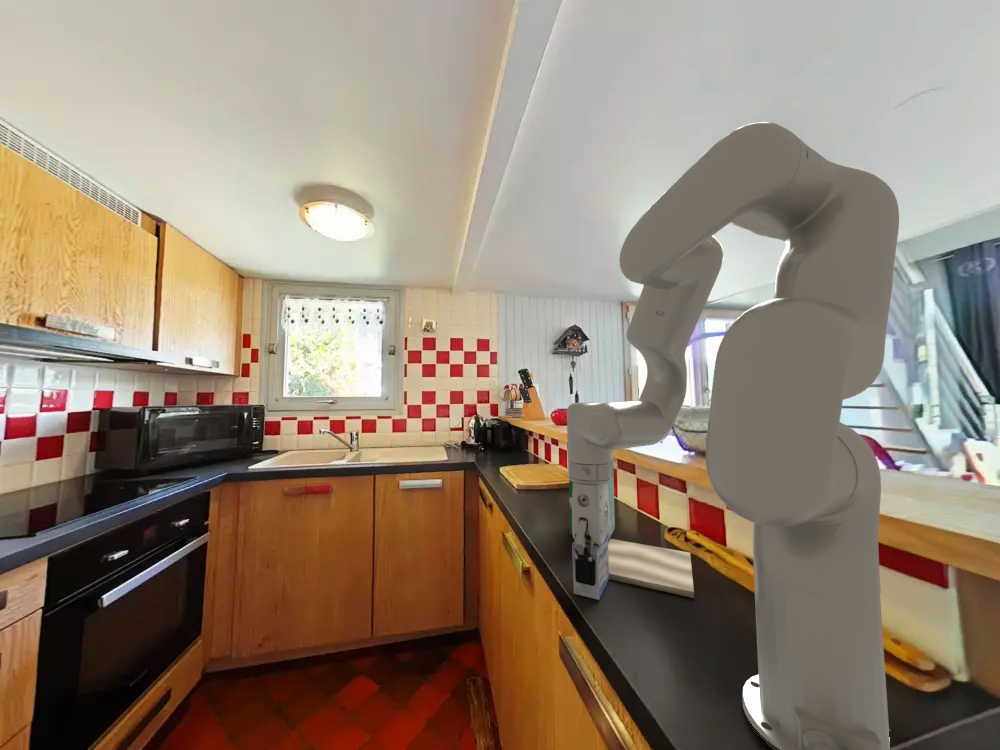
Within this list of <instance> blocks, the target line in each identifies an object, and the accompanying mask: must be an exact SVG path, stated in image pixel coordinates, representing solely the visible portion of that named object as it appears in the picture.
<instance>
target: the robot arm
mask: <svg viewBox="0 0 1000 750" xmlns="http://www.w3.org/2000/svg"><path fill="white" fill-rule="evenodd" d="M729 224H731V225H734V226H736V227H738V228H740V229H743V230H746V231H748V232H750V233H753V234H755V235H758V236H761V237H766V238H771V239H777V240H780V241H783V243H785V244H786V245H785V246H786V247H785V248H784V250H783V253H782V255H781V257H780V260H779V264H778V265H777V269H776V274H775V285H774V287H775V289H774V295H773V299H770V300H767V301H765V302H764V301H763V302H761V303H759V304H756V305H754V306H753V307H751V308H749V309H748V310H746V311H744V312H743V313H741V315H739V316H738V317H737V318H736V319H735V320H734V321H733V323H731V324H730V326H729V327H728V329H727V330H726V332H725V334H724V335H723V338H722V339H721V342H720V344H719V347H718V350H717V353H716V356H715V362H714V369H713V376H712V385H711V386H712V388H711V396H710V404H709V412H708V420H707V421H708V422H707V431H706V432H707V433H706V441H705V466H706V472H707V476H708V480H709V481H710V484H711V486H712V488H713V490H714V492H715V494H716V495H717V496H718V498H719V499H720V500H721V502H722V503H723V504H724V505H725V506H726V508H728V509H729V510H730V511H732V512H733V513H734V514H737V516H739V517H741V518H743V519H744V520H747V521H749V522H752V523H753V526H752V527H753V528H752V553H753V558H752V561H753V582H754V602H755V603H754V604H755V605H754V606H755V627H756V647H757V648H756V649H757V669H758V670H757V671H758V674H756V675H753V676H751V677H750V678H748V679H747V680H746V681H745V682H744V685H743V686H742V692H741V693H742V694H741V696H742V709H743V711H744V715H745V716H747V717H746V719H747V718H748V719H747V721H748V722H749V721H750V722H749V724H750V723H751V724H752V726H753V727H754V728H755V729H756V730H757V731H758V732H759V733H760V735H762V736H763V737H764V738H765V739H766V740H767V741H769V742H770V743H771V744H772V745H774V746H775V747H777V748H778V749H780V750H890V737H889V730H890V726H889V725H890V724H889V711H888V710H889V709H888V697H887V696H888V693H887V679H886V665H885V650H884V649H885V648H884V637H883V620H882V619H883V618H882V617H883V616H882V605H881V604H882V603H881V602H882V601H881V592H882V590H881V577H880V575H881V574H880V573H881V572H880V558H879V557H880V556H879V555H880V554H879V553H880V552H879V526H880V525H879V524H880V510H881V498H882V497H881V494H882V485H881V484H882V482H881V480H882V479H881V470H880V466H879V462H878V460H877V457H876V455H875V452H874V451H873V449H872V448H871V446H870V445H869V443H868V442H867V441H866V440H865V438H863V437H862V436H861V434H859V433H858V432H857V431H855V430H854V429H852V428H851V427H849V426H848V425H846V424H845V423H843V422H840V421H841V420H840V419H841V415H842V410H843V409H842V408H843V401H844V400H847V399H851V398H852V397H856V396H858V395H860V394H861V393H863V392H865V391H866V390H867V389H868V388H869V387H870V386H871V385H872V384H874V383H875V382H876V380H877V379H878V377H879V375H880V374H881V372H882V368H883V365H884V360H885V349H886V335H887V328H888V319H889V314H890V307H891V306H890V304H891V300H892V299H891V298H892V290H893V281H894V279H893V278H894V268H895V260H896V253H897V246H898V245H897V244H898V238H899V230H900V229H899V228H900V211H899V204H898V200H897V197H896V195H895V193H894V191H893V189H892V188H891V187H890V186H889V185H888V183H887V182H885V181H884V180H883V179H882V178H880V177H878V176H877V175H876V174H873V173H871V172H867V171H865V170H861V169H858V168H853V167H849V166H845V165H842V164H838V163H835V162H832V161H831V160H828V159H826V158H825V157H824V156H822V155H821V154H820V153H818V151H816V150H815V149H813V148H811V147H810V146H809V145H808V144H806V143H805V142H804V141H803V140H802V139H801V138H800V137H798V135H796V134H794V132H792V131H791V130H790V129H788V128H786V127H785V126H782V125H780V124H778V123H773V122H768V121H761V122H760V121H759V122H753V123H749V124H746V125H743V126H740V127H738V128H736V129H734V130H733V131H730V132H729V133H728V134H726V135H725V136H723V137H722V138H720V139H719V140H717V141H716V142H715V143H714V144H713V145H712V146H710V147H709V149H707V150H706V151H705V152H704V153H703V154H702V155H701V156H700V157H699V158H698V159H697V160H696V161H695V162H694V163H693V164H692V165H690V167H689V168H688V169H687V170H685V172H683V173H682V175H681V176H680V177H679V178H677V180H676V181H675V182H673V184H672V185H671V186H669V188H668V189H666V190H665V191H664V193H662V195H660V196H659V197H658V198H657V200H655V202H653V204H651V206H649V208H648V209H647V210H646V211H645V212H644V213H643V214H642V215H641V216H640V217H639V218H638V220H637V221H636V222H635V224H634V226H632V228H631V229H630V231H629V232H628V234H627V236H626V238H625V239H624V242H623V244H622V246H621V249H620V252H619V253H620V254H619V259H618V260H619V267H620V270H621V271H620V272H622V275H623V276H624V277H625V278H626V279H627V280H629V281H630V282H632V283H635V284H639V285H642V286H643V287H642V290H641V292H640V295H639V299H638V300H637V303H636V306H635V309H634V311H633V315H632V316H631V319H630V323H629V326H628V328H627V331H626V339H627V341H628V343H630V345H631V346H633V347H634V348H635V349H636V350H637V351H638V352H639V353H640V354H641V356H642V357H643V359H644V361H645V364H646V369H647V370H646V371H647V372H646V373H647V374H646V381H645V383H644V387H643V389H642V391H641V393H640V396H639V398H638V400H634V401H610V402H609V401H608V402H607V401H606V402H574V403H571V404H569V405H568V407H567V410H566V427H567V428H566V429H567V430H566V431H567V479H568V481H569V480H570V481H573V493H572V533H573V535H572V538H573V539H574V541H575V546H576V548H575V576H576V582H578V583H582V584H586V585H591V586H594V585H595V583H596V577H595V560H593V554H594V543H596V544H598V545H601V544H602V543H603V542H604V540H605V538H606V536H607V534H608V532H609V530H610V511H609V495H608V485H607V483H609V482H611V450H613V451H614V450H624V449H631V448H638V447H646V446H653V445H656V444H659V442H661V441H662V440H664V438H665V437H666V436H667V435H668V434H670V431H671V429H672V428H673V426H674V424H675V422H676V420H677V418H678V416H679V413H680V411H681V409H682V407H683V404H684V401H685V399H686V394H687V385H688V383H687V382H688V372H687V371H688V370H687V369H688V368H687V361H686V350H687V348H688V345H689V343H690V340H691V338H692V335H693V334H694V331H695V329H696V326H697V324H698V321H699V319H700V318H701V315H702V313H703V312H704V311H703V310H704V309H705V306H706V304H707V301H708V299H709V297H710V294H711V293H712V291H713V288H714V286H715V283H716V281H717V279H718V276H719V273H720V271H721V269H722V266H723V262H724V259H725V256H724V255H725V254H724V253H725V252H724V248H723V246H722V243H721V242H720V240H718V238H717V237H716V236H714V235H715V234H717V233H718V232H720V231H721V230H722V229H724V227H726V226H727V225H729ZM586 537H591V540H588V539H585V538H586ZM585 544H588V545H590V547H589V551H588V549H587V548H586V547H585ZM751 724H750V725H751ZM752 726H751V727H752Z"/></svg>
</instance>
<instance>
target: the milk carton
mask: <svg viewBox="0 0 1000 750" xmlns="http://www.w3.org/2000/svg"><path fill="white" fill-rule="evenodd" d="M614 476H615V475H614V450H611V482H609V483H607V485H608V495H609V511H610V530H609V532H608V542H609V541H610V539H611V537H612V534H613V533H614V531H615V529H616V526H615V525H616V524H615V523H616V520H615V519H616V518H615V483H614V481H615V480H614ZM568 486H569V487H568V489H569V491H568V492H569V493H568V494H569V497H568V499H569V536H570V535H571V536H573V533H572V493H573V481H570V480H569V479H568Z"/></svg>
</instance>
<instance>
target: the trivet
mask: <svg viewBox="0 0 1000 750" xmlns="http://www.w3.org/2000/svg"><path fill="white" fill-rule="evenodd" d="M608 557H609V580H613V581H617V582H621V583H625V584H630V585H633V586H639V587H643V588H648V589H652V590H657V591H661V592H665V593H669V594H675V595H679V596H683V597H688V598H692V599H695V589H694V578H693V570H692V569H693V568H692V559H691V557H692V556H691V552H687V551H682V550H677V549H676V550H675V549H671V548H666V547H659V546H654V545H648V544H642V543H637V542H631V541H625V540H619V539H615V538H610V539H609V541H608Z"/></svg>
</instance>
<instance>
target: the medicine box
mask: <svg viewBox="0 0 1000 750" xmlns="http://www.w3.org/2000/svg"><path fill="white" fill-rule="evenodd" d="M585 539H588V540H591V537H586V538H585ZM608 543H609V541H608V534H607V536H606V538H605V540H604V542H603V543H602V544H601V545H598V544H596V543H594V554H593V560H595V577H596V583H595V585H594V586H591V585H586V584H582V583H578V582H576V576H575V548H576V546H575V540H574V541H573V542H572V548H571V549H572V572H573V573H572V578H573V583H572V584H573V594H575V595H578V596H581V597H585V598H588V599H593V600H597V601H600V598H601V597H602V595H603V593H604V591H605V589H606V587H607V583H608V581H609V580H610V579H609V557H608ZM585 547H586V548H587V549H588V551H589V547H590V545H588V544H585Z"/></svg>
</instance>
